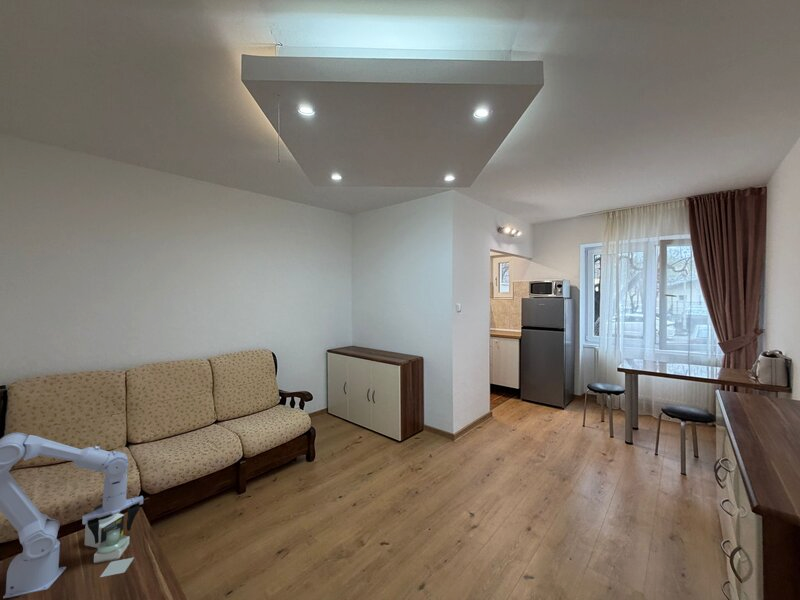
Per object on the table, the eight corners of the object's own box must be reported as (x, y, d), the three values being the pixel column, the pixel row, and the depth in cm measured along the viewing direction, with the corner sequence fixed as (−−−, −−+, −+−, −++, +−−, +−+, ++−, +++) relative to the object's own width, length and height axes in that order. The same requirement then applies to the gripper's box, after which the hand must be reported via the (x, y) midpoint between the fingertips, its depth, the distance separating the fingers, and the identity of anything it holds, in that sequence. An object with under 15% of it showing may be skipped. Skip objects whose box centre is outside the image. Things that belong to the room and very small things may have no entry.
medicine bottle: (100, 549, 103) (102, 512, 104) (83, 546, 105) (85, 509, 105) (123, 534, 110) (125, 499, 111) (107, 531, 112) (109, 497, 112)
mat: (99, 578, 92) (99, 577, 92) (110, 563, 98) (110, 561, 98) (124, 573, 94) (124, 572, 94) (134, 558, 100) (134, 557, 100)
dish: (93, 564, 97) (94, 554, 97) (105, 549, 103) (105, 540, 103) (118, 559, 99) (119, 550, 99) (129, 545, 105) (129, 536, 105)
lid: (92, 556, 97) (93, 542, 97) (105, 540, 103) (105, 527, 103) (120, 551, 99) (121, 537, 99) (131, 536, 106) (131, 523, 106)
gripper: (84, 508, 94) (82, 554, 93) (145, 488, 105) (144, 529, 104) (82, 498, 99) (80, 542, 98) (141, 480, 109) (139, 520, 109)
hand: (113, 535), depth 101 cm, fingers open, 7 cm apart
